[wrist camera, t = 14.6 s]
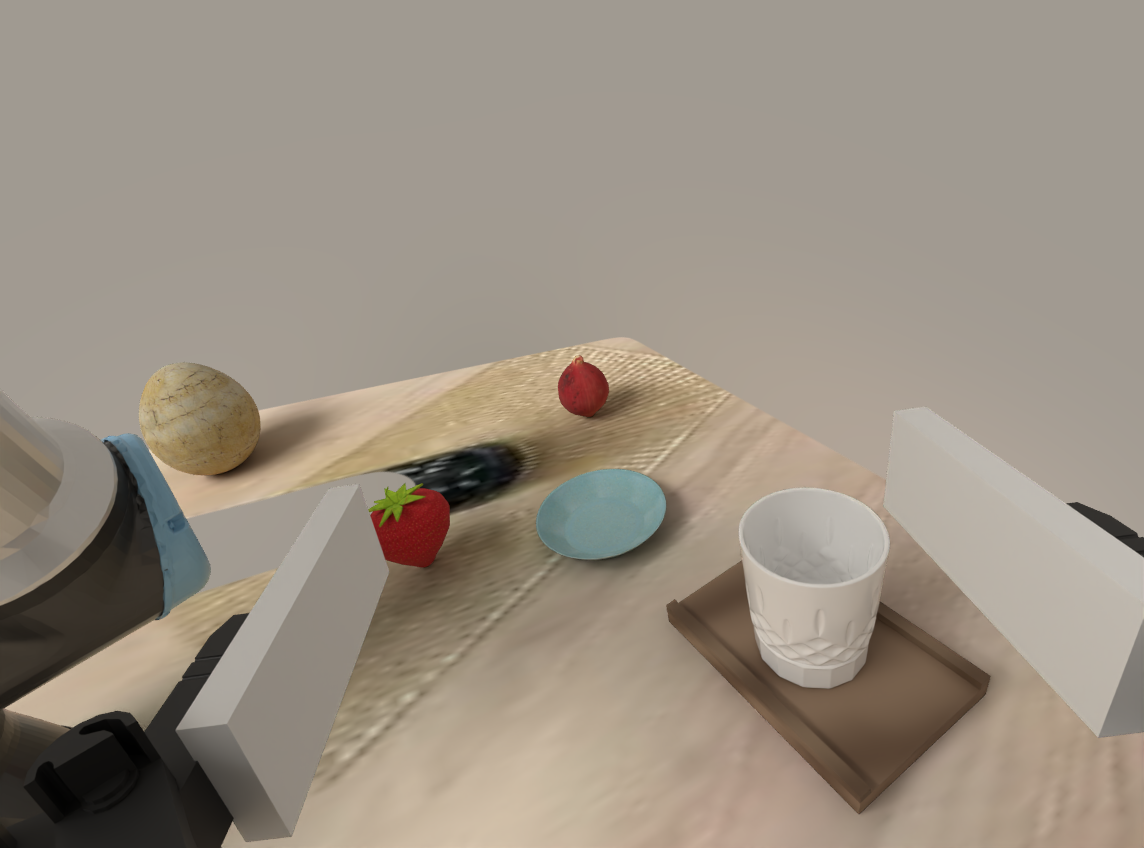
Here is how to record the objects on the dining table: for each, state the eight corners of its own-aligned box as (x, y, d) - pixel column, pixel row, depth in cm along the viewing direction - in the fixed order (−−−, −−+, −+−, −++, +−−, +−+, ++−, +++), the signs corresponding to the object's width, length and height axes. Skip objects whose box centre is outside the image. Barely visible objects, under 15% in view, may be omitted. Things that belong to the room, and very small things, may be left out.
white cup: (827, 580, 42) (831, 472, 37) (906, 672, 36) (925, 556, 30) (726, 617, 41) (715, 511, 36) (787, 718, 35) (785, 607, 29)
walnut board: (669, 621, 44) (666, 605, 43) (776, 547, 47) (776, 531, 46) (858, 814, 31) (860, 797, 30) (985, 694, 35) (990, 676, 34)
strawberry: (477, 562, 53) (441, 476, 48) (398, 606, 51) (351, 520, 45) (455, 528, 58) (420, 446, 52) (381, 567, 55) (337, 485, 50)
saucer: (529, 579, 50) (523, 560, 49) (553, 489, 60) (548, 472, 59) (668, 575, 48) (665, 555, 46) (669, 482, 57) (667, 463, 56)
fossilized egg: (253, 486, 72) (186, 382, 65) (160, 504, 74) (82, 403, 66) (293, 430, 83) (240, 334, 75) (211, 446, 84) (150, 353, 77)
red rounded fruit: (581, 436, 67) (566, 375, 62) (556, 417, 71) (541, 359, 67) (622, 414, 69) (611, 353, 64) (596, 397, 73) (583, 340, 69)
